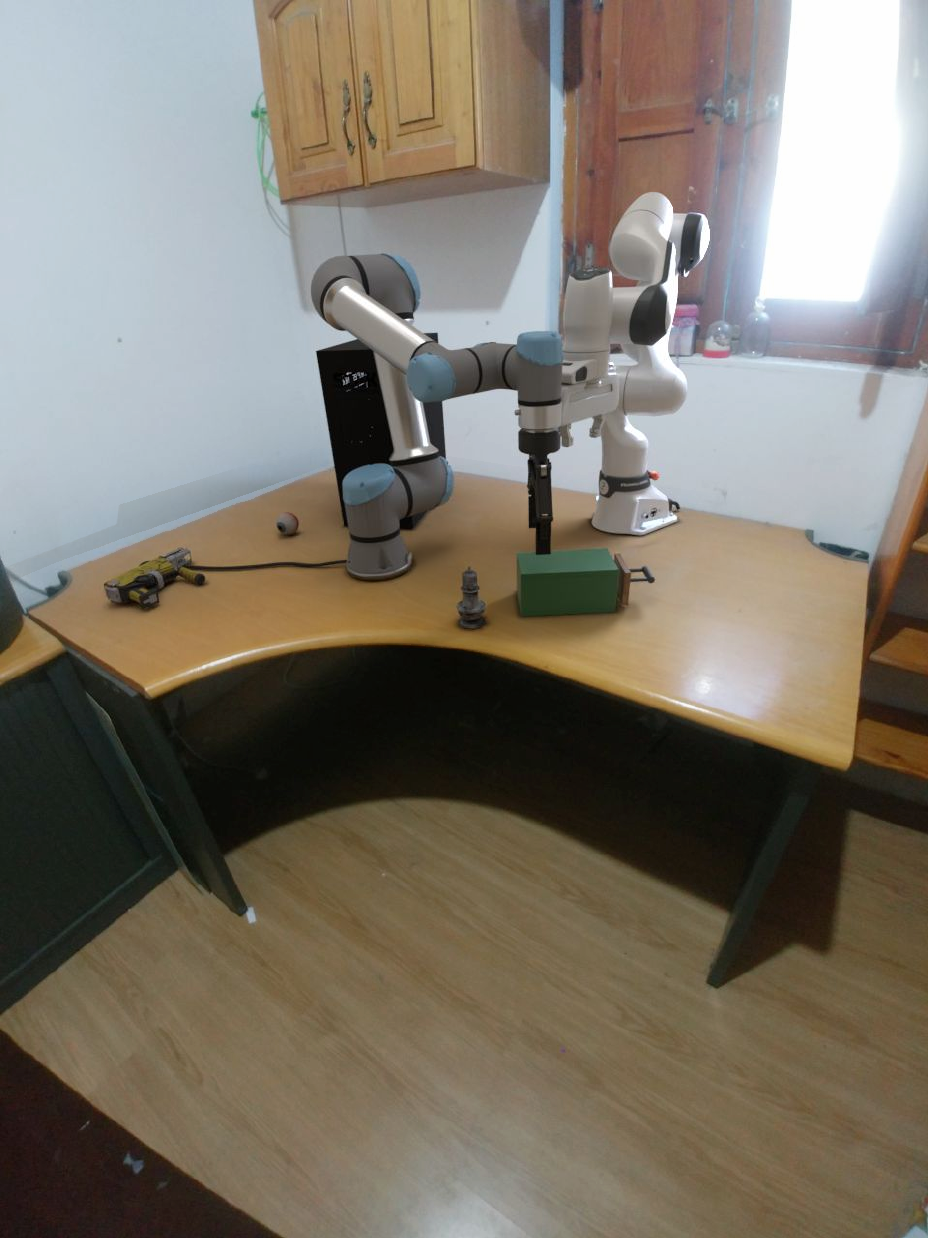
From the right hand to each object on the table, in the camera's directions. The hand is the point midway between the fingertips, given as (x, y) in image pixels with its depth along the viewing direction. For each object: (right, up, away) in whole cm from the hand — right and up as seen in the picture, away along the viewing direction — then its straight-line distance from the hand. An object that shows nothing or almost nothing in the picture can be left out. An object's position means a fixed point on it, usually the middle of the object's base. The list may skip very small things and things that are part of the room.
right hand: (581, 441), depth 120 cm
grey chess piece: (-22, -36, -1) cm, 42 cm away
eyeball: (-71, -12, +45) cm, 85 cm away
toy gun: (-92, -28, +20) cm, 98 cm away
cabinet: (-3, -32, +4) cm, 32 cm away
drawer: (+3, -31, +3) cm, 31 cm away
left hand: (-9, -20, -3) cm, 22 cm away
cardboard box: (-43, -1, +61) cm, 75 cm away
